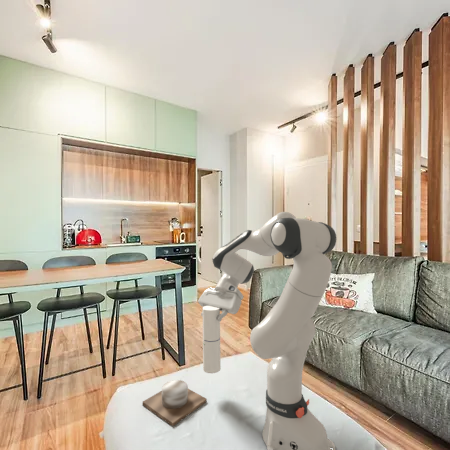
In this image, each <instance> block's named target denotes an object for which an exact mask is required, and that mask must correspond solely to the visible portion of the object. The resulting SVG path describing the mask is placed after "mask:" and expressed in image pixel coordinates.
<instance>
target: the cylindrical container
mask: <svg viewBox="0 0 450 450" xmlns="http://www.w3.org/2000/svg"><path fill="white" fill-rule="evenodd" d="M202 309H203V317H202V370H203V372H204V373H206V374H216V373H219V372H220V371H221V367H222V366H221V321H217V320H216V317H217V315H220V314H221V311H220V308H217V307H213V306H205V307H202Z"/></svg>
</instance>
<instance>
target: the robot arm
mask: <svg viewBox="0 0 450 450" xmlns="http://www.w3.org/2000/svg"><path fill="white" fill-rule="evenodd" d="M336 233H337V232H336V231H335V229H334V228H333V227H332V226H330V225H329V224H328V223H325V222H321V221H320V222H319V221H315V220H311V219H307V218H297V217H296V216H295V215H293V214H292V213H290V212H287V211H280V212H278V213H276V214H275V215H274V216H272V217H271V218H270V219H268V221H267V220H266V222H265V223H264V224H263V225H262V226H261V227H259V228H258V229H257V228H256V229H253V230H252V229H251V230H250V229H246V230H245V231H243V232H242V233H240V234H239V235H237V236H236V237H235V238H233V239H232V240H230V241H229V242H228V243H227V244H224V245H223V246H220V248H218V249H217V250H216V251H215V252H214V254H213V256H212V264H213V267H214V268H216V269H217V270H219V271H221V272H223V273H222V276H221V277H220V278H219V280H218V282H217V283H216V285H215V287H209V288H206V289H205V290H204V291H203V292H202V294H201V295H200V297H198V300H197V303H198V304H199V306H200V307H202V310H201V314H200V316H201V317H202V318H203V307H205V306H213V307H217V308H220V315H217V317H216V320H217V321H220V322H221V321H222V320H223V319H224V318H225V317H226V316H227V315H228V314H232V315H236V314H237V313H238V312H239V310H240V308H241V305H242V301H243V299H244V295H243V292H241V290H240V289H239V288H238V286H239V285H242V284H247V283H249V282H250V281H251V279H252V277H253V275H254V272H255V267H254V264H253V263H251V262H250V261H249V260H247V259H246V258H244V257H243V256H241V255H239V254H238V253H237V252H238V251H240V250H247V251H249V252H253V253H255V254H257V255H259V256H263V257H272V256H275V255H278V254H279V253H281V254H282V256H283V258H284V259H286V260H293V266H292V269H291V271H290V273H289V276H288V277H287V280H286V282H285V284H284V287H283V289H282V292H281V294H280V296H279V298H278V299H277V301H276V302H275V304H274V305H273V307H272V308H271V309H270V311H269V312H268V313H267V314H266V315H265V317H263V319H262V321H261V322H259V323H258V324H257V325H256V326H255V327H253V328H252V329H251V332H250V335H249V337H250V338H249V341H250V345H251V348H252V350H253V352H254V353H255V354H256V355H257V356H258V357H259V358H261V359H262V360H269V359H271V360H270V361H269V363H268V365H267V371H266V383H267V384H266V385H267V387H266V388H267V389H266V391H265V406H266V411H265V412H266V413H265V414H266V415H265V420H264V425H263V430H262V431H261V432H262V439H263V442H264V444H265V445H266V450H332V449H330V448H333V450H336V446H335V442H333V441H332V440H331V439H329V438H328V434H327V430H326V428H325V426H324V424H323V423H322V422H321V421H320V420H319V419H318V418H317V417H316V415H314V414H313V412H312V411H311V410H310V409H309V408H308V406H309V404H310V399H309V398H308V399H307V401H306V400H305V397H304V394H303V391H302V390H303V370H304V366H305V361H306V357H307V354H308V350H309V348H310V344H311V343H312V341H313V340H314V338H315V336H316V325H315V323H314V321H313V319H312V318H313V317H314V315H315V313H316V311H317V309H318V306H320V305H319V304H320V302H321V301H322V298H323V295H324V293H326V289H327V287H328V285H329V281H330V277H331V275H332V269H333V264H332V262H331V260H330V258H329V257H328V256H327V255H326V254H329V253H330V252H331V251H333V250H334V248H335V246H336V243H337V234H336Z"/></svg>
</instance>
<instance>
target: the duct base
mask: <svg viewBox="0 0 450 450" xmlns="http://www.w3.org/2000/svg"><path fill="white" fill-rule="evenodd" d="M188 385H189V384H188V383H187V382H186V381H184V380H179V379H174V380H169V381H167V382H166V383H164V384H163V385H162V387H161V391H158V392H157V393H155V394H154V395H152V396H150V397H148V398H147V399H144V400H143V401H142V406H144V407H145V408H146V409H147V410H149V411H150V412H152V413H153V414H155V415H156V416H157V417H159V418H160V419H162V421H164V422H166V423H167V424H169V425H170V426H171V427H174V426H176V425H177V424H178V423H179V422H180V423H181V421H183V420H184V419H185V418H186V417H188V416H190V414H192V413H194V411H196V410H197V409H199V408H200V407H202V406H203V405H204V404H206V403H207V401H208V399H207V397H204V396H203V395H201V394H199V393H197V392H195V391H193V390H191V389H189V386H188Z"/></svg>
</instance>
